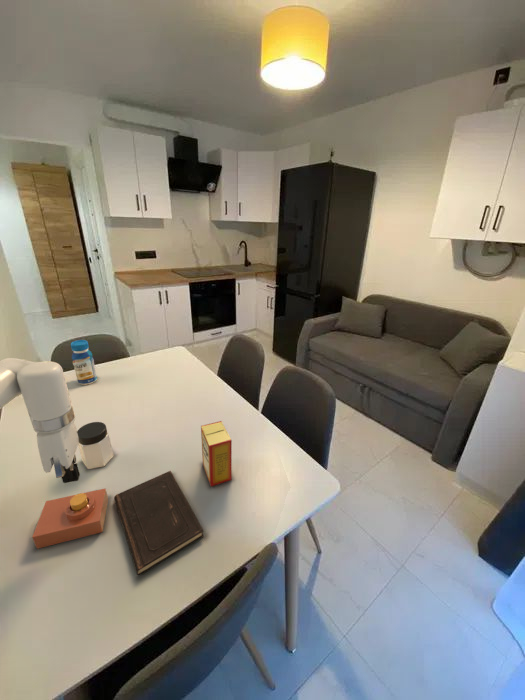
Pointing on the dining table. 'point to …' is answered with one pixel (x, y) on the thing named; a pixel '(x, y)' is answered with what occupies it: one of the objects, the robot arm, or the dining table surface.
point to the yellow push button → (78, 502)
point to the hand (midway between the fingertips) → (71, 479)
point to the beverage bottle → (83, 362)
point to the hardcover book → (156, 521)
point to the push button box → (70, 519)
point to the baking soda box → (216, 452)
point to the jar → (94, 445)
